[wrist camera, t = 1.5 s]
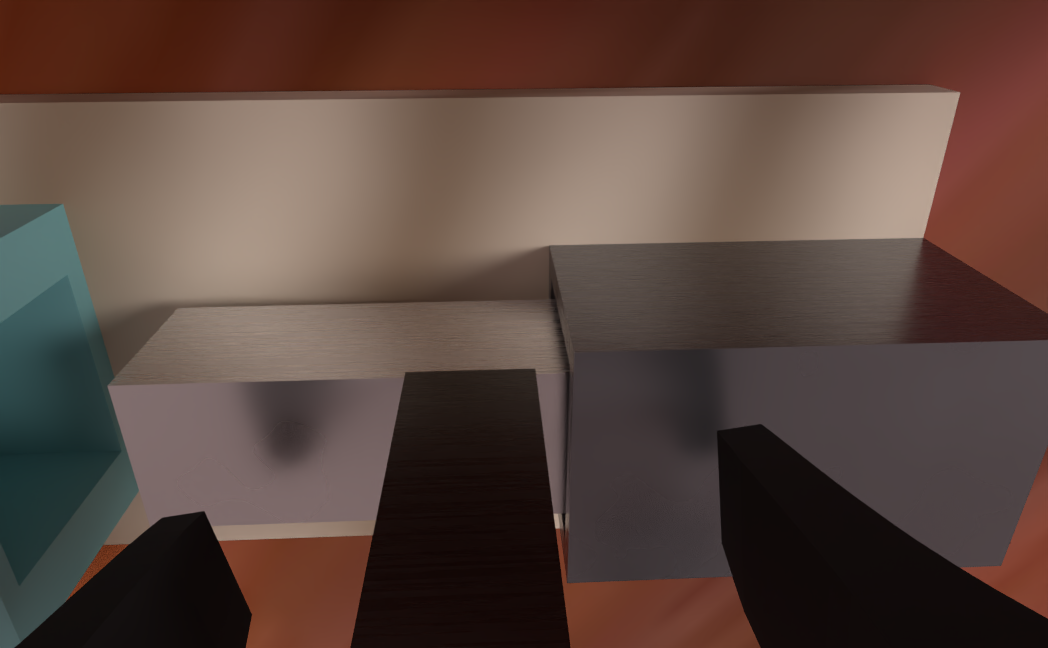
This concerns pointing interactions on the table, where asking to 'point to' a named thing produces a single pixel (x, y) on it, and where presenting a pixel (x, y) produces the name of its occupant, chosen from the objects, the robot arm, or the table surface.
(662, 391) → the outer sleeve
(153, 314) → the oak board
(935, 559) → the robot arm
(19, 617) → the bracket socket
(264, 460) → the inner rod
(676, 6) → the table surface
